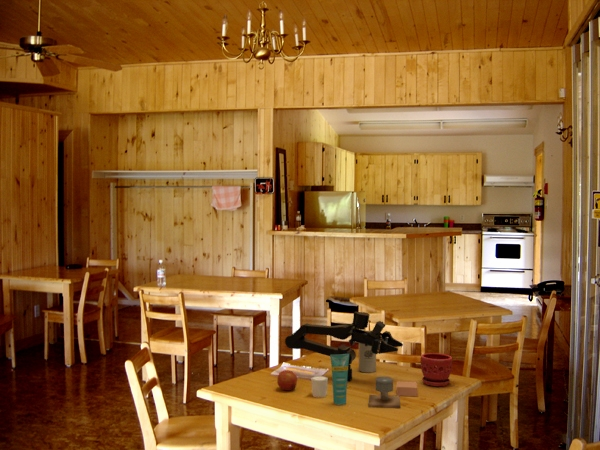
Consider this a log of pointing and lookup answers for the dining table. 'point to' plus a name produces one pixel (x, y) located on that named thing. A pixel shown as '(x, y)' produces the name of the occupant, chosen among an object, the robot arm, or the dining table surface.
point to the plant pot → (436, 369)
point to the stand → (406, 388)
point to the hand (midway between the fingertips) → (400, 347)
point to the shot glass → (319, 386)
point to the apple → (287, 380)
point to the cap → (384, 384)
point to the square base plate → (384, 400)
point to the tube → (339, 377)
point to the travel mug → (366, 359)
